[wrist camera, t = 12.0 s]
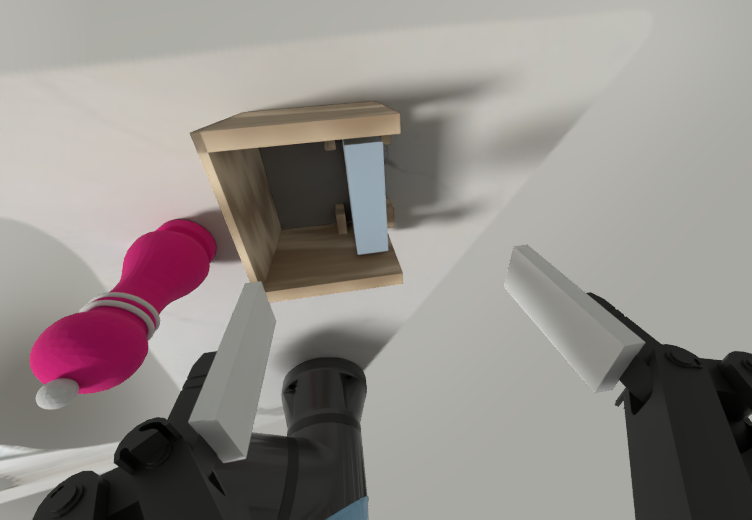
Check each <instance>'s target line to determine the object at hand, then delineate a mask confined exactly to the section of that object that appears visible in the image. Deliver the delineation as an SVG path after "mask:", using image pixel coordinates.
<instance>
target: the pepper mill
mask: <svg viewBox="0 0 752 520" xmlns="http://www.w3.org/2000/svg"><path fill="white" fill-rule="evenodd" d="M215 253H216V243H215V240H214V238H213V237H212V235H211V234H210V233H209V232H208V231H207V230H206V229H205V228H203V227H202V226H200V225H199V224H196V223H194V222H191V221H187V220H171V221H168V222H166V223H164V224H163V225H162V226H161V227H159V228H158V229H157V230H156V231H154V232H150V233H147V234H145V235H143V236H141V237H139V238H138V239H137V240H136V241H135V242H134V243H133V244H132V246H131V247H130V248H129V249H128V251H127V253H126V256H125V258H124V262H123V269H122V276H121V280H120V282H119V283H118V284H117V285H116V286H115V288H114V289H113V290H111V291H110V292H109V293H103V294H100V295H97V296H95V297H94V298H92V299H91V300H90V301H89V303H88V304H87V305H85V306H84V307H82V308H81V310H80V311H79V313H76V314H73V315H69V316H67V317H64V318H62V319H60V320H58V321H57V322H55V323H53V324H52V325H51V326H50V327H48V328H47V329H46V330H45V331H44V332H43V333H42V334H41V335H40V336H39V338H38V339H37V341H36V342H35V344H34V346H33V348H32V350H31V353H30V367H31V369H32V371H33V373H34V375H35V376H36V377H37V378H38V379H39V380H40V381H41V382H42V383H44V384H45V385H44V386H42V387H41V389H40V390H39V391H38V393H37V395H36V401H37V404H38V405H39V406H40V407H42V408H44V409H58V408H61V407H64V406H66V405H67V404H69V403H70V402H72V401H73V400H74V399H75V397H76V396H77V394H88V393H96V392H100V391H104V390H108V389H110V388H112V387H114V386H116V385H119V384H121V383H122V382H124V381H125V380H127V379H128V378H129V377H130V376H131V375H133V374H134V373H135V372H136V370H137V369H138V368H139V367H140V366H141V365H142V363H143V361H144V359H145V357H146V355H147V353H148V340H150V338H151V337H152V336H153V334H154V332H155V331H156V330H157V329H158V327H159V325H160V317H159V314H160V312H161V311H162V310H163V309H164V308H165V307H166V306H167V305H168V304H169V303H171V302H173V301H175V300H177V299H179V298H181V297H183V296H185V295H187V294H189V293H190V292H192V291H193V290H195V289H196V288H197V287H198V286H199V285H200V284H201V283H202V282H203V281H204V280H205V278H206V277H207V275H208V272H209V267H210V264H209V263H210V262H211V260H212V259H213V257H214V256H215Z"/></svg>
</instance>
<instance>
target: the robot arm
mask: <svg viewBox="0 0 752 520" xmlns="http://www.w3.org/2000/svg"><path fill="white" fill-rule="evenodd" d="M504 288H505V289H506V290H507V291H508V292H509V293H510V295H511V296H512V297H513V298H514V299H515V300H516V302H517V303H518V304H519V305H520V306H521V307H522V309H523V310H524V311H525V312H526V313H527V315H528V316H529V317H530V318H531V319H532V320H533V322H534V323H535V324H536V325H537V326H538V328H539V329H540V330H541V331H542V332H543V334H544V335H545V336H546V337H547V338H548V339H549V340H550V342H551V343H552V344H553V345H554V346H555V348H556V349H557V350H558V351H559V352H560V353H561V354H562V356H563V357H564V358H565V359H566V361H567V362H568V363H569V364H570V365H571V366H572V368H573V369H574V370H575V371H576V372H577V374H578V375H579V376H580V377H581V378H582V379H583V380H584V382H585V383H586V384H587V385H588V386H589V387H590V389H591V390H592V391H593V392H594V393H597V392H603V391H609V390H613V388H614V387H615V385H616V384H617V382H618V381H619V380H620V381H621V382H622V383H623V384H624V386H625V387H626V388H625V389H624V391H623V392H622V393H621V395H620V396H619V397H618V399H617V400H616V403H615V405H616V406H619V405H620V404H621V403H622V401H624V409H625V417H626V428H627V437H628V447H629V458H630V467H631V478H632V488H633V498H634V508H635V518H636V520H752V422H751V421H750V419H749V418H748V416H749V415H751V414H752V354H750V353H746V352H739V351H734V352H731V353H729V354H728V355H727V356H726V357H725V358H724V359H723V360H713V359H704V358H698V357H697V356H696V355H694V354H693V353H691V352H689V351H687V350H685V349H683V348H680V347H677V346H674V345H668V344H664V345H662V344H660V343H659V342H658V341H656V340H655V339H654V338H653V337H651V336H650V335H649V334H648V333H646V332H645V331H644V330H642V329H641V328H640V327H639V326H638V325H636V324H635V323H634V322H632V321H631V320H630V319H629V318H627V317H625V316H624V314H622V313H621V312H620V311H619V310H616V309H615V307H614V306H612V305H611V304H610V303H609V302H607V301H606V300H605V299H603V298H601V297H599V296H597V295H595V294H593V293H591V292H590V293H585V292H584V291H583V290H582V289H580V288H579V287H578V286H577V285H575V284H574V283H573V282H572V281H571V280H569V279H568V278H567V277H566V276H564V275H563V274H562V273H561V272H560V271H559V270H557V269H556V268H555V267H554V266H552V265H551V264H550V263H549V262H548V261H546V260H545V259H544V258H543V257H542V256H540V255H539V254H538V253H537V252H536V251H534V250H533V249H532V248H531V247H529V246H528V245H521V246H514V248H513V251H512V256H511V260H510V264H509V268H508V272H507V277H506V281H505V285H504ZM275 324H276V320H275V317H274V314H273V312H272V309H271V306H270V304H269V301H268V298H267V296H266V293H265V290H264V288H263V285H262V282H261V281H260V282H253V283H245V285H244V288H243V290H242V293H241V295H240V297H239V300H238V302H237V305H236V307H235V310H234V312H233V314H232V317H231V319H230V322H229V324H228V327H227V329H226V331H225V334H224V336H223V339H222V341H221V344H220V346H219V348H218V351H215V352H209V353H204V354H203V355H202V356H201V357H200V358H199V359H198V360H197V362H196V363H195V364H194V365H193V367H192V369H191V371H190V373H189V375H188V377H187V378H188V379H187V380H186V382H185V384H184V386H183V388H182V389H183V390H182V391H181V392H180V394H179V396H178V398H177V400H176V403H175V405H174V407H173V409H172V411H171V413H170V415H169V417H168V420H166V419H165V418H159V417H158V418H153V419H149V420H147V421H145V422H143V423H141V424H140V425H138V426H136V427H135V428H134V429H133V430H132V431H130V432H129V433H128V434H127V435H126V436H125V437H124V439H123V440H122V441H121V442H120V444H119V445H118V448H117V450H116V452H115V454H114V463H115V464H116V465H117V466H119V467H117V468H115V469H113V470H111V471H109V472H107V473H105V474H102V475H100V476H99V475H98V474H96V473H95V472H93V471H82V472H80V473H77V474H75V475H72V476H71V477H69V478H68V479H66V480H65V481H63V482H62V483H60V484H59V485H58V486H57V487H56V488H55V489H54V490H52V491H51V492H50V493H49V494H48V495H47V497H46V498H45V499H44V500H43V502H42V503H41V504H40V506H39V507H38V509H37V511H36V513H35V515H34V518H33V520H368V500H369V499H368V496H367V489H366V479H365V468H364V458H363V447H362V438H361V427H360V421H361V417H362V412H363V407H364V402H365V398H366V393H367V386H366V377H365V375H364V372H363V371H362V369H361V368H360V367H358V366H357V365H355V364H354V363H352V362H349V361H346V360H342V359H336V358H321V359H315V360H311V361H307V362H305V363H302V364H300V365H298V366H296V367H295V368H293V369H292V370H291V371H290V372H289V373H288V374H287V375H286V377H285V379H284V381H283V387H282V403H283V408H284V413H285V418H286V423H287V428H288V431H287V437H285V436H279V435H271V434H262V433H252V429H253V424H254V420H255V415H256V411H257V406H258V401H259V397H260V392H261V388H262V383H263V379H264V374H265V369H266V365H267V360H268V356H269V351H270V347H271V342H272V337H273V333H274V328H275Z"/></svg>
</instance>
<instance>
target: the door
mask: <svg viewBox="0 0 752 520" xmlns="http://www.w3.org/2000/svg"><path fill="white" fill-rule="evenodd" d="M342 144H343V151H344V159H345V167H346V175H347V183H348V191H349V199H350V207H351V215H352V221H353V228H354V234H355V240H356V247H357V253H358V255H360V254H368V253H375V252H383V251H388V234H387V214H386V195H385V175H384V158H388V148H387V146H384V147H383V141H382V140H381V139H380V138H379V136H370V137H360V138H350V139H342Z"/></svg>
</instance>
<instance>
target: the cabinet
mask: <svg viewBox="0 0 752 520" xmlns="http://www.w3.org/2000/svg"><path fill="white" fill-rule="evenodd" d="M391 134H400V113H398V112H396V111H394V110H392V109H390V108H388V107H386V106H384V105H382V104H380V103H378V102H376V101H369V102H357V103H346V104H335V105H324V106H312V107H301V108H290V109H278V110H267V111H256V112H244V113H240V114H237V115H234V116H232V117H229V118H227V119H224V120H222V121H219V122H216V123H214V124H211V125H209V126H206V127H203V128H201V129H198V130H196V131H193V132H190V135H191V138H192V140H193V142H194V145H195V147H196V150H197V152H198V155H199V157H200V160H201V162H202V165H203V167H204V170H205V172H206V175H207V177H208V179H209V182H210V184H211V187H212V189H213V192H214V194H215V197H216V199H217V202H218V204H219V207H220V209H221V211H222V214H223V216H224V219H225V221H226V224H227V226H228V229H229V231H230V234H231V236H232V239H233V241H234V244H235V246H236V248H237V251H238V253H239V256H240V258H241V261H242V263H243V266H244V268H245V271H246V273H247V276H248V278H249V281H250V283H253V282H260V281H261V282H262V285H263V288H264V290H265V293H266V296H267V298H268V301H269V303H271V302H278V301H285V300H292V299H299V298H306V297H313V296H320V295H327V294H334V293H341V292H348V291H355V290H362V289H369V288H376V287H383V286H390V285H397V284H403V273H402V270H401V267H400V265H399V262H398V259H397V257H396V254H395V251H394V249H393V246H392V243H391V241H390V238H389V235H388V251H383V252H375V253H368V254H360V255H358V253H357V247H356V240H355V234H354V228H353V221H351V222H346V217H345V210H344V204H339V205H335V208H336V219H337V223H335V224H327V225H319V226H310V227H302V228H294V229H286V230H282V229H281V225H280V222H279V218H278V215H277V211H276V208H275V204H274V201H273V197H272V194H271V190H270V187H269V184H268V180H267V177H266V173H265V170H264V166H263V163H262V159H261V156H260V152H259V149H258V148H259V147H269V146H279V145H289V144H299V143H310V142H320V141H324V145H325V151H327V150H336V146H335V140H340V139H350V138H360V137H370V136H379V138H380V139H381V140H382V141H383V145H386V144H391ZM386 214H387V228H393V227H394V208H393V206H392V204H391V202H390V200H389V199H386ZM387 234H388V233H387Z"/></svg>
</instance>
